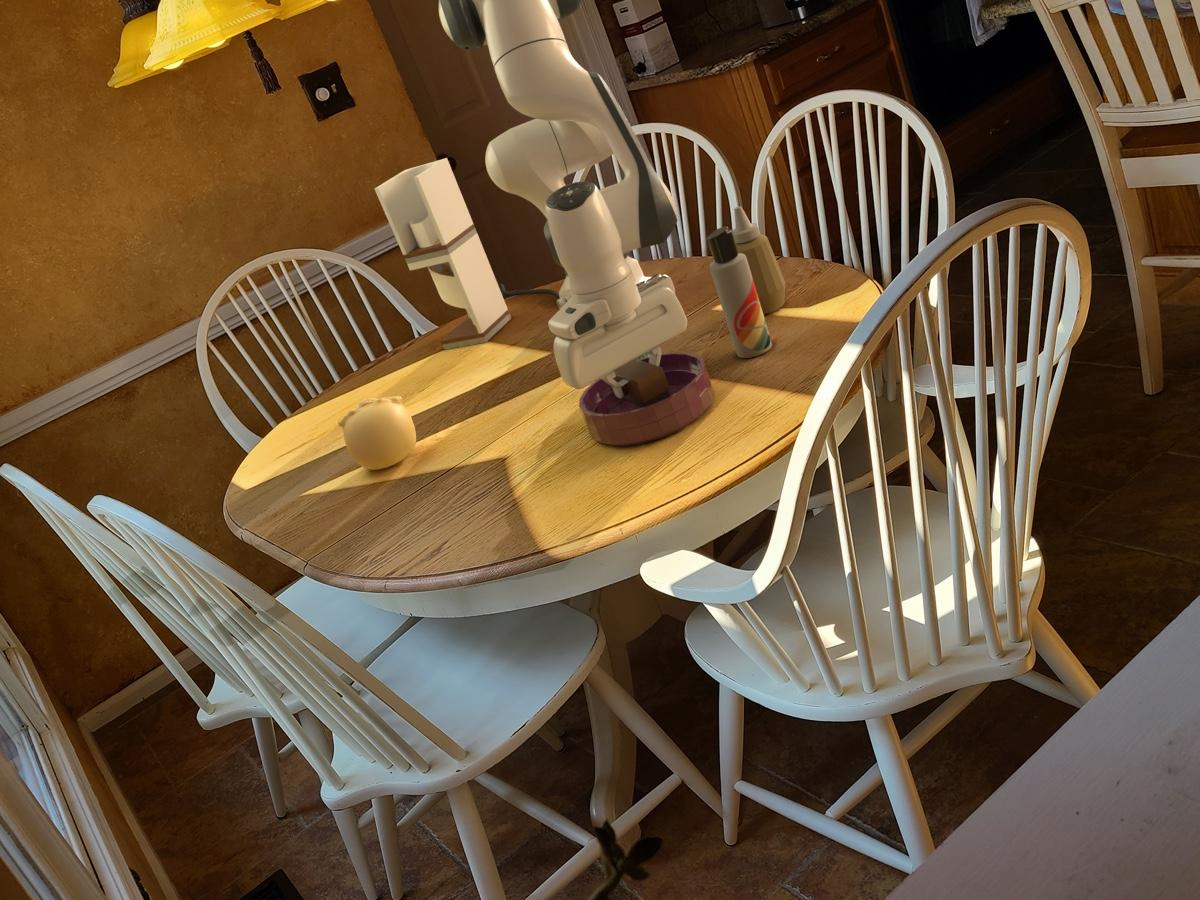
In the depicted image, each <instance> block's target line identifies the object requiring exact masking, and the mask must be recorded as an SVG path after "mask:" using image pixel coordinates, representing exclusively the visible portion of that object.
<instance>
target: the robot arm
mask: <svg viewBox="0 0 1200 900" xmlns="http://www.w3.org/2000/svg"><path fill="white" fill-rule="evenodd" d="M582 1H583V0H438V16H439V20H440V24H441V26H442V28H443V31H444V32H445V33H446V35H447V36H448V37H449V38H450V40H451V41H453V43H454V45H455V46H456V47H458V48H460V49H462V50H465V51H473V50H474V51H475V50H481V49H482V50H483V47H484V46H487V48H488V52H489V57H490V59H491V63H492V66H493V69H494V73H495V75H496V79H497V81H498V84H499V86H500V89H501V91H502V93H503V95H504V97H505V99H506V101H507V103H508V105H510V106H511V107H512V108H513V109H514V110H515V111H517V112H519V113H520V114H522V115H524V116H527V117H529V118H531V120H529V121H526V122H524V123H521V124H518V125H516V126H514V127H511V128H509V129H507V130H506V131H504V132H502V133H501V134H499V135H498V136H496V137H495V138H493V139H492V140H491V141H489V142H488V144H487V147H486V150H485V157H484V159H485V161H484V163H485V167H486V171H487V174H488V176H489V178H490V180H491V181H492V182H493V183H494V185H495V186H497V188H499V189H500V190H502V191H504V192H506V193H507V194H512V195H515V196H517V197H520V198H523V199H525V200H526V201H528V202H530V203H531V204H532V205H534V206H535V207H536V208H537V209H538V210H539V211H540V212H541V214H543V216H544V217H545V218H546V221H545V223H544V226H543V234H544V237H545V240H546V242H547V245H548V246H549V247H548V248H549V250H550V253H551V256H552V259H553V261H554V264H556V265H557V266H559V267H561V268H563V270H564V274H565V278H564V281H563V283H562V284H561V287H560V289H559V291H556V290H554V289H550V288H534V289H520V290H512V291H511V290H510V291H507V290H506V288H505V285H504V283H500V284H499V289H500V291H501V294H502V296H507V297H508V296H509V297H514V296H522V295H538V294H548V295H552V296H554V298H556V299H557V300H556V304H557V306H558V308H559V310H558V311H557V312H555V314H554V315H553V316H552V317H551V318H550V319H549V320H548V324H547V325H548V328H549V331H550V333H552V334H553V335H556V336H555V338H554V341H553V348H552V349H553V354H554V358H555V362H556V366H557V368H558V372H559V374H560V377H561V380H562V382H563V383H564V384H565V385H567V386H569V387H571V388H573V389H577V390H582V389H584V388H585V387H587V386H590V385H591V384H592V383H594V382H595V381H596V380H598V379H600V378H601V379H602V380H603V381H605V382H606V383H607V384H609V385H610V386H612V388H613V391H614V393H615V395H616V397H618V398H622V397H624V396H626V395H627V394H629V392H628V390H627V386H626V384H625V383H622V382H618V383H617V382H616V381H615V380H613V378H615V377H616V375H615V373H614V370H616V369H618V368H619V367H621V366H623V365H625V364H627V363H628V362H630V361H632V360H634V359H636V358H637V357H639V356H641V355H643V354H645V353H649V354H650V357H649V363H650V364H653V365H656V366H659V364H660V359H661V354H663V351H662V347H661V345H663V344H664V343H667V342H668V341H670V340H672V339H673V338H675V337H677V336H679V335H681V334H682V333H684V332H685V331H686V330H687V327H688V322H689V321H688V318H687V316H686V313H685V311H684V309H683V307H682V305H681V302H680V301H679V299H678V297H677V295H676V289H675V285H674V283H673V280H672V278H671V277H670V276H669V275H667V274H660V273H655V274H652V276H645V275H644V272H643V269H642V267H641V266H640V264H639V262H638V260H637V259H636V258H633V257H630V256H629V254H630V252H632V251H635V250H638V249H644V248H648V247H652V246H657V245H662V244H664V243H665V242H666V241H667V240H668V238H669V237H670V236H671V234H672V233H673V231H674V229H675V227H676V225H677V223H678V221H679V220H678V212H677V206H676V203H675V200H674V197H673V195H672V193H671V191H670V190H669V188H668V187H667V185H666V183H664V181H663V180H662V179H661V177H660V176H659V175H658V174H657V172H656V171H655V169H654V167H653V165H652V164H651V162H650V160H649V158H648V155H647V154H646V152H645V149H644V147H643V146H642V145H641V143H640V141H639V139H638V137H637V135H636V134H635V132H634V129H633V128H632V125H631V124H630V122H629V121H628V119H627V117H626V115H625V113H624V111H623V109H622V108H621V106H620V104H619V103H618V101H617V99H616V97H615V96H614V94H613V92H612V90H611V89H610V87H609V86H608V84H607V82H606V81H605V80H604V78H603V77H602V76H601V75H600V74H599V73H598V72H597V71H591V70H588V71H587V70H586V69H585V68H584V67H583V66H581V65H580V64H579V63H578V62H577V60H576V59H575V58H574V57H573V55H572V53H571V51H570V49H569V46H568V43H567V40H566V38H565V34H564V32H563V30H562V26H561V24H560V22H559V19H560V20H561V21H562V20H564V19H566V18H568V17H570V16H571V15H573V14H574V13H575V12H577V11H578V9H579V8H580V5H581V4H582ZM532 118H533V119H532ZM613 155H614V157H615V158H616V160H617V162H618V164H619V166H620V167H621V170H622V171H623V173H624V177H623V178H622V180H620V181H619V182H616V183H614V184H611V185H608V186H606V187H603V188H598V186H597V185H596V184H595V183H593V182H590V181H575V182H571V183H569V184H566V183H565V181H564V179H565V178H566V177H567V176H569V175H571V174H574V173H577V172H579V171H582V170H584V169H586V168H589V167H592V166H595V165H597V164H599V163H602V162H604V161H605V160H606V159H608V158H610V157H611V156H613ZM535 289H536V290H535Z"/></svg>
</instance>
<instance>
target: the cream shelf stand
mask: <svg viewBox="0 0 1200 900" xmlns="http://www.w3.org/2000/svg"><path fill="white" fill-rule="evenodd" d="M374 191H375V193H376V196H377V198H378V200H379V203H380V205H381V207H382V210H383V212H384V215H385V216H386V219H387V221H388V224H389V226H390V229H391V230H392V232H393V233H392V234H393V235H394V237H395V239H396V242H397V244H398V246H399V249H400V251H401V253H402V256H403V258H404V261H405V263H406V264H407V265H406V266H407V267H408V270H409V271H415V270H419V269H423V268H427V269H428V271H429V274H430V276H431V278H432V280H433V284H434V286H435V288H436V291H437V293H438V295H439V297H440V299H441V300H442V301H443V302H444V303H445V304H447V305H449V306H452V307H454V308H459V309H465V311H466V314H467V317H466V318H465V319H463V321H461V322H460V323H459V324H458V325H456V327H454V328H453V329H452V330H451V331H450V332H449V333H447V334H446V335H445V336H444V337H442V339H440V343H441V345H442V347H443V350H444V351H446V350H451V349H457V348H462V347H466V346H472V345H479V344H483V343H487V342H489V340H490V339H492V337H493V336H494V335H496V334H497V332H499V331H500V330H501V329H502V328H503V327H504V326H505V325H506V324H507V323H508V322H509V321H510V320H512V316H511V314H510V311H509V309H508V306H507V304H506V301H505V299H504V297H503V296H504V295H503V294H502V292H501V290H500V285H499V283H498V281H497V278H496V276H495V274H494V271H493V269H492V266H491V263H490V261H489V259H488V256H487V254H486V252H485V249H484V247H483V244H482V241H481V239H480V237H479V234H478V232H477V229H476V227H475V224H474V222H473V219H472V217H471V214H470V211H469V209H468V207H467V203H466V202H465V200H464V197H463V194H462V192H461V190H460V187H459V185H458V182H457V180H456V176H455V174H454V172H453V170H452V167H451V164H450V161H449V160H448V157H445V158H442V159H439V160H435V161H432V162H428V163H425V164H421V165H418V166H417V165H416V166H414V167H410V168H407V169H404V170H403V171H401V172H399V173H397V174H396V175H394V176H393V177H391V178H389V179H388V180H386V181H385V182H382V183H381V184H379V185H378V186H377V187H374Z"/></svg>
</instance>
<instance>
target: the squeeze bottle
mask: <svg viewBox="0 0 1200 900" xmlns="http://www.w3.org/2000/svg"><path fill="white" fill-rule="evenodd" d="M733 210H734V224H735V228H733V229H731V231H732V234H733V237H734V241H735V244H736V247H737V251H738V253H742V254H744V255H745V256H746V258H747V261H748V265H749V268H750V271H751V275H752V278H753V281H754V285H755V288H756V291H757V295H758V298H759V302H760V305H761V308H762V312H763V315H767V314H770V313H773V312H775V311H778V310H779V309H780V308H782V307H783V306H784V305H785V299H786V281H785V278H784V275H783V273H782V270H781V268H780V266H779V263H778V261H777V258H776V256H775V253H774V251H773V249H772V246H771V243H770V240H769V238H768V237H767V236H766V235H764V234H761V231H760V227H759V225H758V223H755V222H750V220H749V218H748V216H747V213H746V212H745V210H744V209H743V207H742V205H740V206H736V207H734V209H733Z"/></svg>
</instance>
